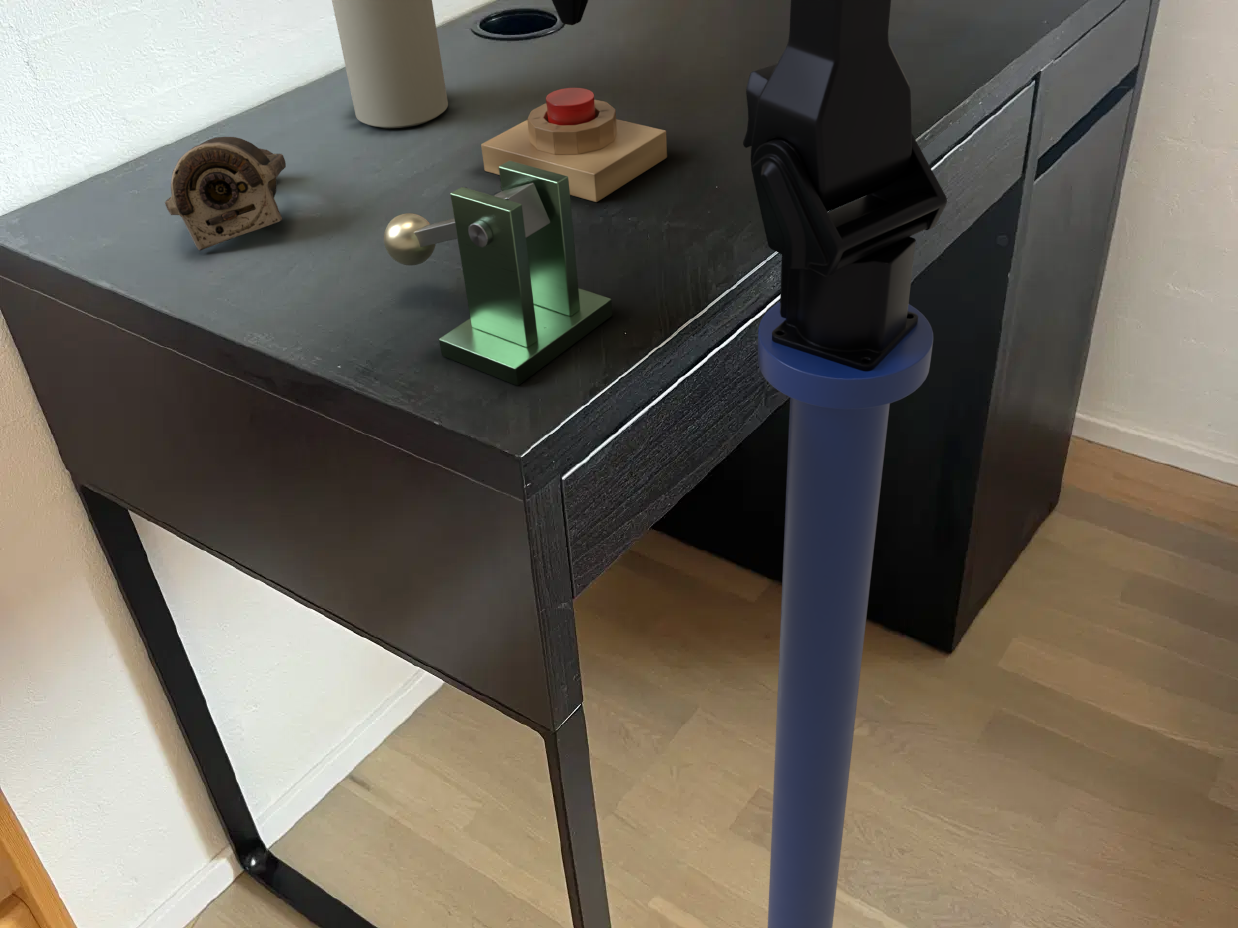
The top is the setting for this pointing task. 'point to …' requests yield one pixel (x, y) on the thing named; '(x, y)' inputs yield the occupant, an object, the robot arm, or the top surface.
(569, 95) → the button
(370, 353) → the top surface
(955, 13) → the top surface
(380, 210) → the top surface
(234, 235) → the mechanical counter
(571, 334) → the bracket
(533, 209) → the lever
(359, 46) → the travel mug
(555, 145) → the button block
